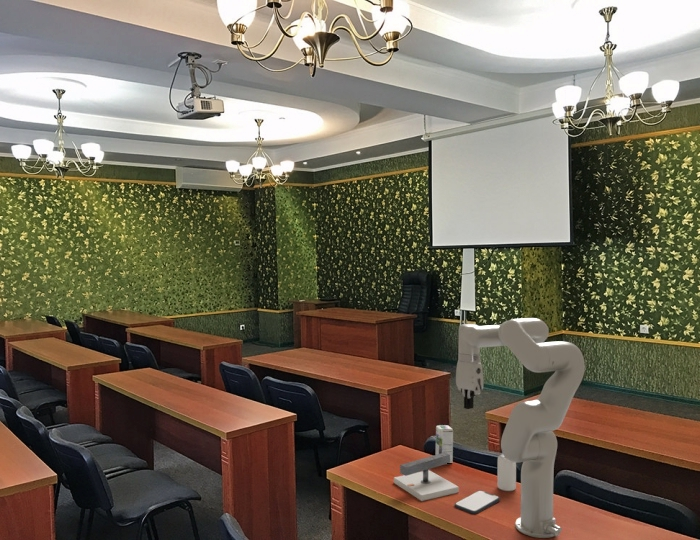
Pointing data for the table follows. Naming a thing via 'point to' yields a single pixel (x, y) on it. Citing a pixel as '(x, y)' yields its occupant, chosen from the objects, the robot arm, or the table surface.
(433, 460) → the t key
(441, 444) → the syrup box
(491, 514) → the table surface
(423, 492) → the key plate
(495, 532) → the table surface
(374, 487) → the table surface
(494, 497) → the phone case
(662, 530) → the table surface
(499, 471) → the can
